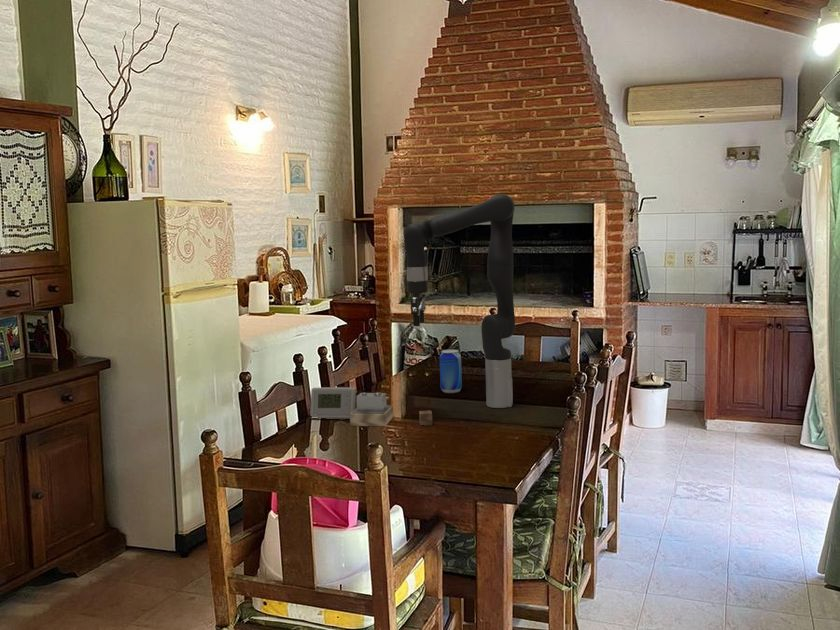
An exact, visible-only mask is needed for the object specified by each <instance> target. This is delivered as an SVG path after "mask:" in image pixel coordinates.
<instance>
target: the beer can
mask: <svg viewBox="0 0 840 630" xmlns="http://www.w3.org/2000/svg"><path fill="white" fill-rule="evenodd" d="M439 379H440V381H439V382H440V390H441V391H442V392H443V393H445V394H455V393H456V394H457V393H460V392H461V389H462V387H463V378H462V356H461V354H460V353H459V350H457V349H443V350H441V354H440V355H439Z"/></svg>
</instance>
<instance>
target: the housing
mask: <svg viewBox="0 0 840 630" xmlns="http://www.w3.org/2000/svg"><path fill="white" fill-rule="evenodd" d="M356 408H357V411H383V410H385V409H386V408H387V393H385V392H381V391H380V392H379V391H377V392H360V393H359V394H358V395H356Z"/></svg>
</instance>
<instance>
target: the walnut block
mask: <svg viewBox="0 0 840 630" xmlns="http://www.w3.org/2000/svg"><path fill="white" fill-rule="evenodd" d="M418 412H419V417H418V418H419V425H424V426H433V413H432V410H419V411H418Z"/></svg>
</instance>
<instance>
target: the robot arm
mask: <svg viewBox="0 0 840 630" xmlns="http://www.w3.org/2000/svg"><path fill="white" fill-rule="evenodd" d="M514 212H515V202H514V200H513V199H512V197H510V196H509V195H508V194H505V193H497V194H495V195H493V196H492V197H490V198H488V199H486V200H484V201H483V202H481V203H478V204H475V205H474V206H470V207H467V208H463V209H462V208H461V209H458V210H454V211H450V212H446V213H443V214H440V215H437V216H434V217H431V218H430V219H428V220H423V221H419V222H415V223H414V222H413V223H410V224H408V225H407V226H406V227H405V228H404V233H403V234H404V235H403V239H404V246H405V251H406V289H407V290H406V291H407V293H408V294H412V297H410V314H411V316H412V320H413V322H412V323H413V327H420V325H421V323H425V312H426V308H427V307H426V293H429V280H428V279H429V278H428V277H429V275H428V267H427V265H428V264H427V253H426V251H425V245H424V244H425V242H424V241H428V240H431V239H433V238H436V237H442V236H445V235H448V234H452V233H454V232H458V231H461V230H463V229H467V228H468V227H471V226H475V225H479V224H482V223H488V222H490V239H489V246H488V250H487V261H486V262H487V263H486V264H487V265H486V268H487V269H486V271H487V272H486V275H487V280H488V282H489V285H490V286H491V288H492V291H493V292H494V294H495V298H496V302H497V303H496V304H497V305H496V306H497V309H496V310H497V311H496V313H493V314H487V315H486V316H484V318H483V319H482V322H481V330H480V331H481V338H482V339H481V340H482V350H483V352H484V361H485V362H484V363H485V364H484V365H485V395H486V398H485V399H486V400H485V401H486V406H487V407H489V408H494V409H502V408H503V409H505V408H512V406H513V403H514V401H513V400H514V398H513V397H514V396H513V391H514V390H513V377H512V352H511V349H509V348H506V347H504V346H503V343H502V340H504V339H509V338H510V337H512V336H513V335H514V333H515V329H516V317H515V306H514V305H515V304H514V267H515V266H514V246H513V237H512V236H513V234H512V233H513V221H514Z"/></svg>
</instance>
